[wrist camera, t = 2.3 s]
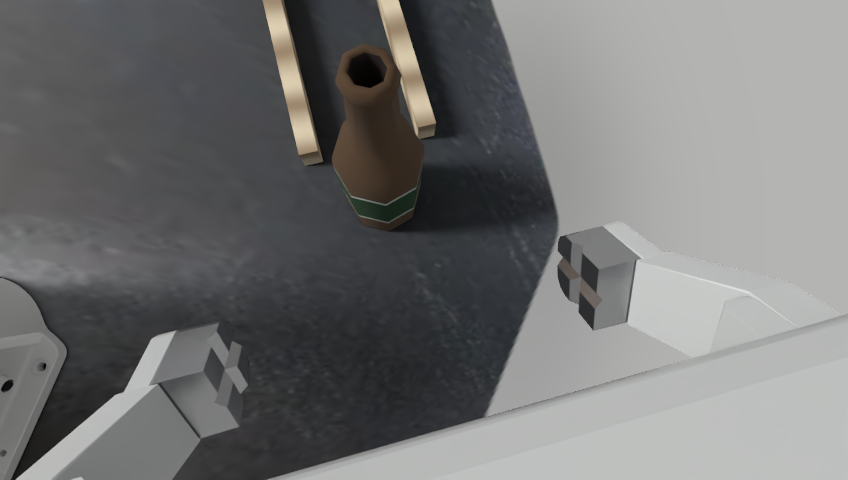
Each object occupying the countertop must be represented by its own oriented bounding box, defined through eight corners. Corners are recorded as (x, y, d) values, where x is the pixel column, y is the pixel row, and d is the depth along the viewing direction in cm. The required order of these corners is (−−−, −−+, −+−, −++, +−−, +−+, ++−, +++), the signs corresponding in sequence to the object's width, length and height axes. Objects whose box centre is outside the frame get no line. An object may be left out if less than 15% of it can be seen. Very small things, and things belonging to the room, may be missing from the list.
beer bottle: (433, 192, 46) (465, 57, 23) (391, 247, 45) (381, 162, 22) (377, 153, 47) (354, -18, 24) (334, 206, 46) (264, 79, 22)
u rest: (434, 135, 48) (436, 123, 45) (305, 165, 46) (298, 155, 43) (379, -45, 53) (377, -67, 50) (260, -24, 51) (252, -45, 48)
